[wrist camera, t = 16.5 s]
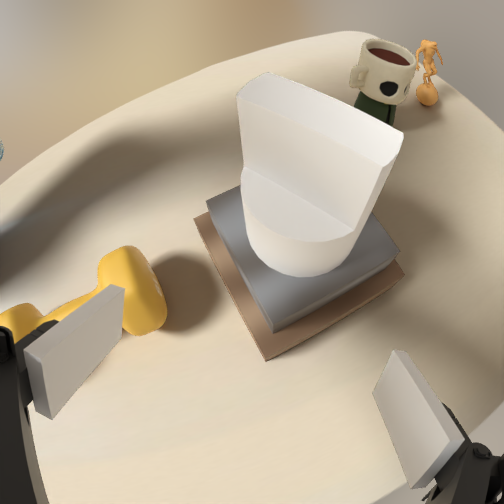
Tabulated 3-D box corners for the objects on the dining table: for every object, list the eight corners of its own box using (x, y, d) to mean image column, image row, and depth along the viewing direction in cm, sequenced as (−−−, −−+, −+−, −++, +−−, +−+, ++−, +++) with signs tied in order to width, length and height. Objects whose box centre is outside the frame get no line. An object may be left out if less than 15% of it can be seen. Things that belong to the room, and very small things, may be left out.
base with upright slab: (373, 215, 26) (422, 109, 15) (318, 300, 23) (360, 215, 12) (286, 165, 28) (291, 52, 17) (223, 236, 26) (193, 125, 15)
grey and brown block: (201, 237, 35) (183, 196, 27) (316, 183, 37) (325, 136, 30) (265, 361, 29) (264, 352, 22) (391, 288, 31) (422, 257, 24)
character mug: (354, 150, 39) (374, 71, 27) (327, 116, 42) (337, 41, 30) (411, 133, 40) (438, 65, 28) (383, 104, 43) (402, 37, 31)
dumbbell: (154, 258, 34) (126, 221, 27) (183, 332, 31) (156, 312, 23) (29, 320, 32) (-14, 301, 24) (45, 390, 28) (-3, 383, 21)
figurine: (419, 115, 42) (441, 57, 31) (393, 94, 44) (409, 36, 33) (443, 104, 44) (465, 52, 33) (419, 85, 46) (436, 33, 35)
